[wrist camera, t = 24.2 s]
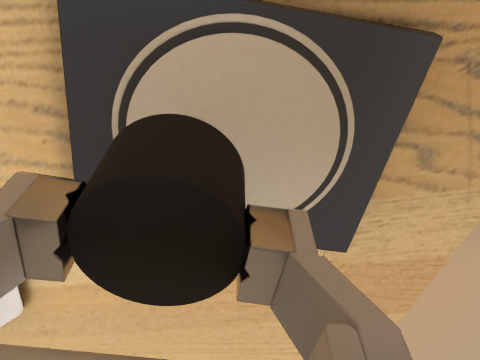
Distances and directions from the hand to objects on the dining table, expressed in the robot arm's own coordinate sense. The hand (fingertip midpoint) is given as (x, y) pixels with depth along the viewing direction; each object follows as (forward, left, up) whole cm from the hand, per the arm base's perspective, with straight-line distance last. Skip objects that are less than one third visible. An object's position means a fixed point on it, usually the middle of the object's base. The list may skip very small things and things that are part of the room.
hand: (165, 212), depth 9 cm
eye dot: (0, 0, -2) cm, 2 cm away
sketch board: (-2, +5, -14) cm, 15 cm away
